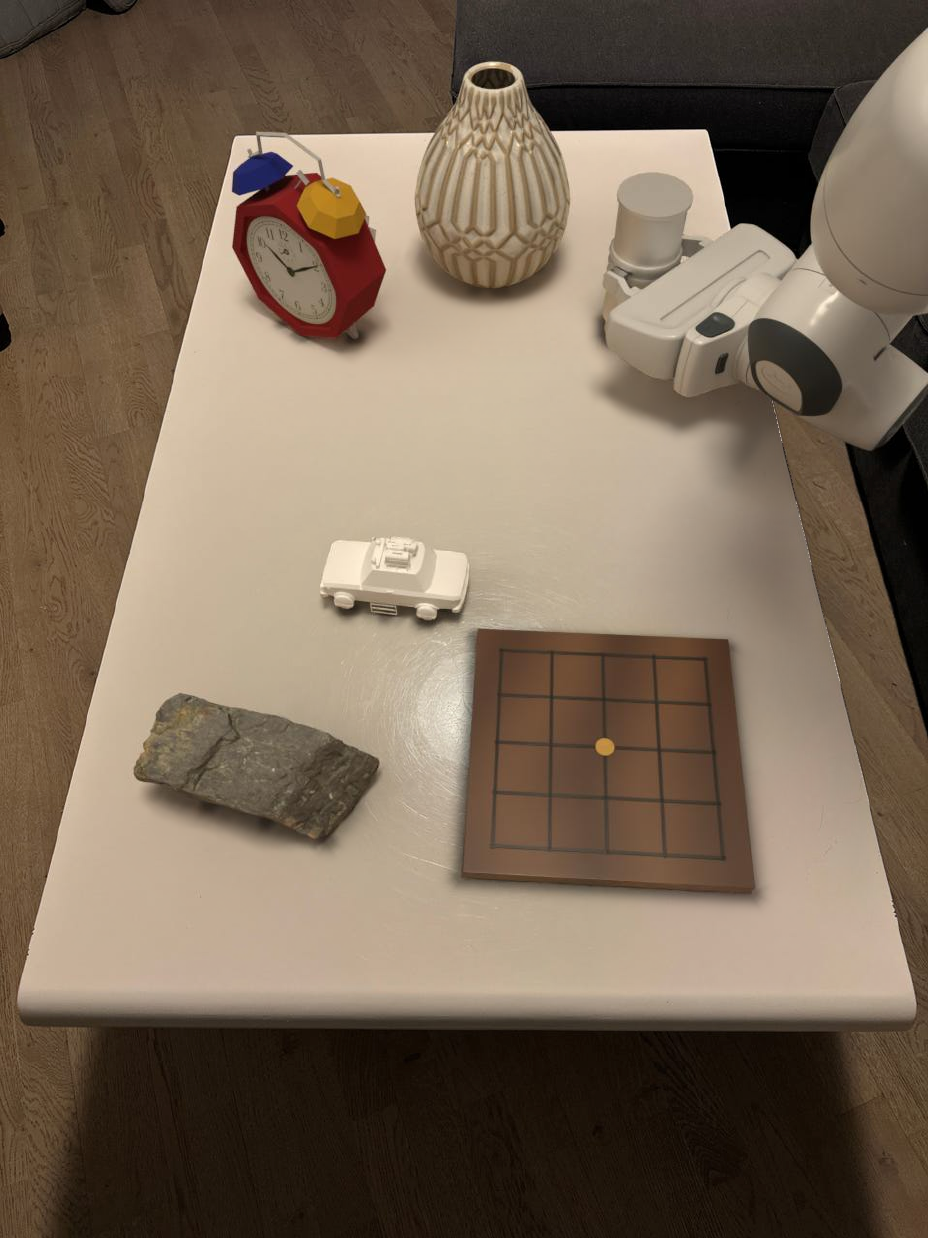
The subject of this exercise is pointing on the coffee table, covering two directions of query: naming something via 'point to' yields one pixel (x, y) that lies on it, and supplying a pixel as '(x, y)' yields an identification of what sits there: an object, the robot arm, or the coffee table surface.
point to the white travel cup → (647, 230)
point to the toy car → (395, 575)
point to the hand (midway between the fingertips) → (636, 256)
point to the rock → (254, 764)
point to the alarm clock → (305, 244)
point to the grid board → (606, 763)
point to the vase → (492, 183)
